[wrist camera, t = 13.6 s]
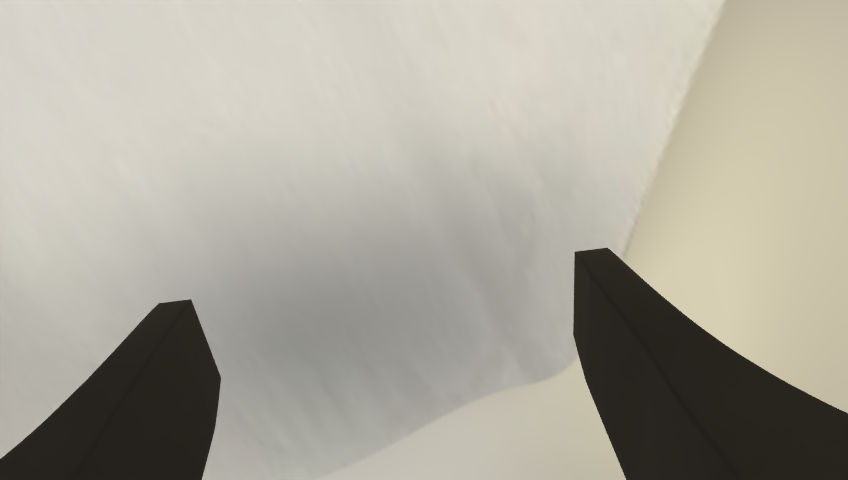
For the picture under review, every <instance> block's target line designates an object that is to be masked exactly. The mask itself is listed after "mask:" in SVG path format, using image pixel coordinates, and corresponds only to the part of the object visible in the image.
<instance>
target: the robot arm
mask: <svg viewBox="0 0 848 480" xmlns="http://www.w3.org/2000/svg"><path fill="white" fill-rule="evenodd" d="M573 335H574V339H575V342H576V346H577V350H578V354H579V358H580V361H581V365H582V369H583V372H584V376H585V379H586V382H587V385H588V388H589V390H590V393H591V395H592V397H593V400H594V402H595V405H596V407H597V410H598V412H599V414H600V417H601V419H602V422H603V424H604V427H605V429H606V431H607V434H608V436H609V439H610V441H611V444H612V446H613V448H614V451H615V453H616V456H617V458H618V460H619V463H620V465H621V468H622V470H623V472H624V475H625V477H626V480H848V413H846V412H844V411H842V410H839V409H837V408H835V407H833V406H831V405H829V404H827V403H825V402H823V401H821V400H819V399H817V398H815V397H813V396H811V395H809V394H807V393H805V392H804V391H802V390H800V389H798V388H796V387H794V386H792V385H790V384H788V383H786V382H785V381H783V380H781V379H779V378H778V377H776V376H774V375H772V374H770V373H769V372H767V371H766V370H764V369H762V368H761V367H759V366H757V365H756V364H754V363H753V362H751V361H749V360H748V359H746V358H744V357H743V356H741V355H740V354H738V353H737V352H735V351H733V350H732V349H730V348H729V347H728V346H726V345H725V344H723V343H722V342H720V341H719V340H718V339H716V338H715V337H713V336H712V335H711V334H709V333H708V332H706V331H705V330H704V329H702V328H701V327H700V326H698V325H697V324H696V323H694V322H693V321H692V320H690V319H689V318H688V317H687V316H685V315H684V314H683V313H682V312H681V311H679V310H678V309H677V308H676V307H674V306H673V305H672V304H671V303H670V302H668V301H667V300H666V299H665V298H664V297H662V296H661V295H660V294H659V293H658V292H657V291H655V290H654V289H653V288H652V287H651V286H650V285H649V284H647V283H646V282H645V281H644V280H643V279H642V278H641V277H640V276H638V275H637V274H636V273H635V272H634V271H633V270H632V269H631V268H630V267H628V266H627V265H626V264H625V263H624V262H623V261H622V260H621V259H620V258H619V257H618V256H616V255H615V254H614V253H613V252H612V251H611V250H610V249H608V248H602V249H594V250H586V251H578V252H575V268H574V331H573ZM220 382H221V377H220V374H219V371H218V369H217V366H216V364H215V361H214V358H213V356H212V353H211V350H210V348H209V345H208V343H207V340H206V337H205V335H204V332H203V329H202V327H201V324H200V322H199V319H198V316H197V314H196V311H195V308H194V306H193V303H192V301H191V299H190V300H182V301H174V302H166V303H159V304H158V305H157V306H156V307H155V308H154V309H153V310H152V311H151V312H150V313H149V314H148V315H147V316H146V317H145V318H144V319H143V320H142V321H141V322H140V323H139V325H138V326H137V327H136V328H135V329H134V330H133V331H132V332H131V333H130V334H129V335H128V337H127V338H126V339H125V340H124V341H123V342H122V343H121V344H120V345H119V346H118V347H117V348H116V350H115V351H114V352H113V353H112V354H111V355H110V356H109V357H108V358H107V359H106V360H105V361H104V362H103V363H102V364H101V365H100V367H99V368H98V369H97V370H96V371H95V372H94V373H93V374H92V375H91V376H90V377H89V378H88V379H87V380H86V381H85V382H84V383H83V384H82V385H81V386H80V387H79V388H78V389H77V390H76V391H75V392H74V393H73V394H72V395H71V396H70V397H69V398H68V399H67V400H66V401H65V402H64V403H63V404H62V405H61V406H60V407H59V408H58V409H57V410H55V411H54V412H53V413H52V414H51V415H50V416H49V417H48V418H47V419H46V420H45V421H44V422H43V423H42V424H41V425H40V426H39V427H38V428H36V429H35V430H34V431H33V432H32V433H31V434H30V435H28V436H27V437H26V438H25V439H24V440H23V441H22V442H20V443H19V444H18V445H17V446H16V447H14V448H13V449H12V450H11V451H10V452H8V453H7V454H6V455H5V456H4V457H2V458H1V459H0V480H202V476H203V472H204V469H205V465H206V461H207V457H208V453H209V449H210V445H211V442H212V438H213V434H214V429H215V424H216V417H217V409H218V401H219V392H220Z"/></svg>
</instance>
